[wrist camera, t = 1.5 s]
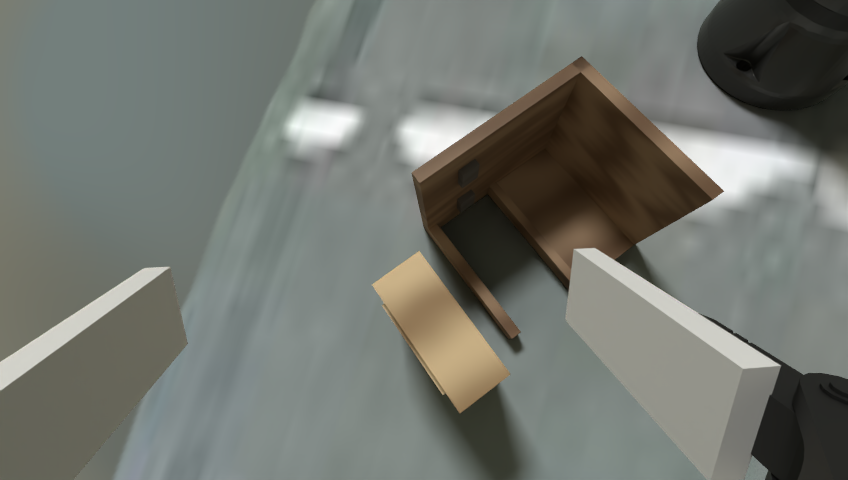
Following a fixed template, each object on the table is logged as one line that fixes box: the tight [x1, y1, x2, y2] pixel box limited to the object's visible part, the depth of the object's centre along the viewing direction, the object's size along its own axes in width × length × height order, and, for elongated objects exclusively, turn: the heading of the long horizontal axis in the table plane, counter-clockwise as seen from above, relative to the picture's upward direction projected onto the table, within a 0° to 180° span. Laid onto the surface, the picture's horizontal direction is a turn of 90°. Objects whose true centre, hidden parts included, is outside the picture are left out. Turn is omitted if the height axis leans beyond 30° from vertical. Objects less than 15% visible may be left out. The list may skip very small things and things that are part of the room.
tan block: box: [372, 251, 510, 413], centre depth 31 cm, size 10×4×12 cm, turn 36°
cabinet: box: [412, 56, 724, 339], centre depth 33 cm, size 14×16×13 cm
